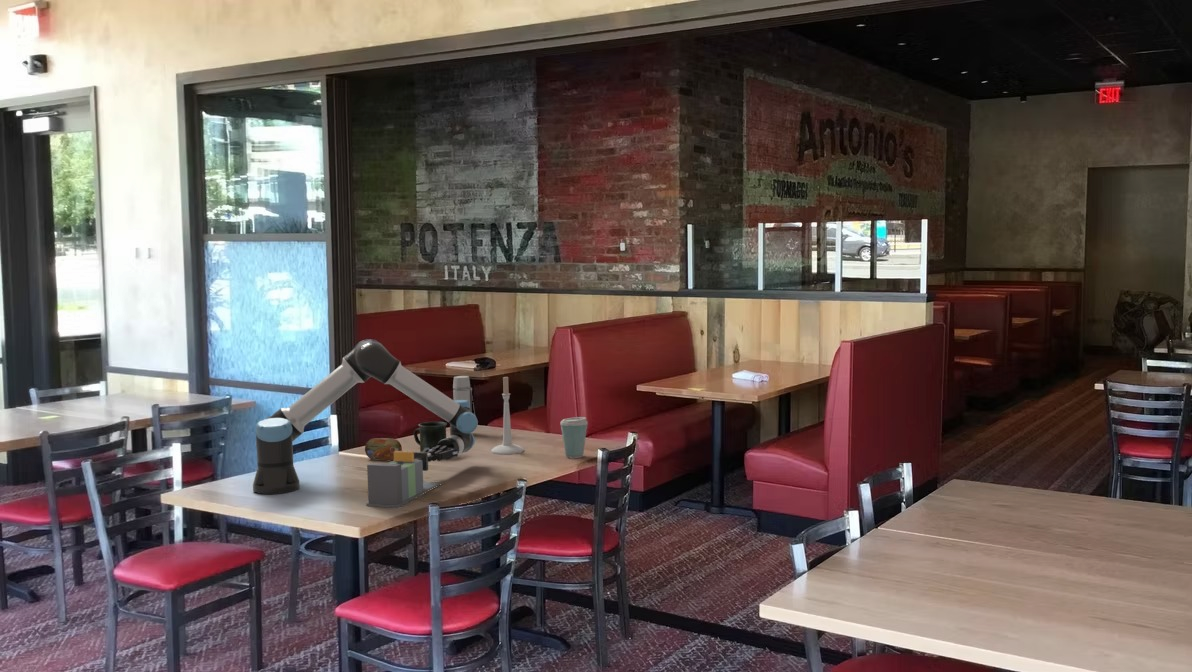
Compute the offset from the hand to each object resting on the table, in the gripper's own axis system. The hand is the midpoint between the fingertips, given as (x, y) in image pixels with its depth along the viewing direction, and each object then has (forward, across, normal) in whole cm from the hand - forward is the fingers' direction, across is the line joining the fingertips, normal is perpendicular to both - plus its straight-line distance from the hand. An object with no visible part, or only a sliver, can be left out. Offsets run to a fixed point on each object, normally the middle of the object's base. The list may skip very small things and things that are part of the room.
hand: (420, 461), depth 345 cm
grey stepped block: (+11, 0, -9) cm, 14 cm away
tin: (-39, +35, -9) cm, 53 cm away
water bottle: (-96, +26, -9) cm, 100 cm away
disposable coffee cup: (-59, -36, -9) cm, 69 cm away
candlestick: (-64, -6, -9) cm, 65 cm away
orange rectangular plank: (+12, 0, +2) cm, 12 cm away
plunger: (+9, 0, -3) cm, 9 cm away
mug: (-53, +22, -9) cm, 58 cm away
